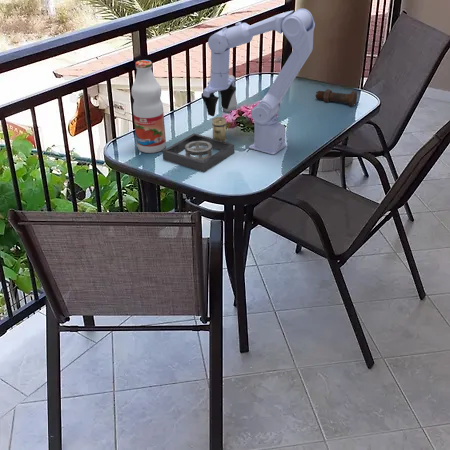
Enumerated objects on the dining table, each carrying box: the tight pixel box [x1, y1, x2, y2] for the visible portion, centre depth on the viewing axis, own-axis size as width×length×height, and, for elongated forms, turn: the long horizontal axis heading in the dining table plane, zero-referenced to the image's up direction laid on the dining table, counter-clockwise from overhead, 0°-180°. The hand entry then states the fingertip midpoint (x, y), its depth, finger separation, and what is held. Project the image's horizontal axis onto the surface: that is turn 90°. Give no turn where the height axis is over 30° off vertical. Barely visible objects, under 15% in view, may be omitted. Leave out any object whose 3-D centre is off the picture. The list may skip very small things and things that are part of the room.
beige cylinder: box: [211, 116, 227, 142], centre depth 194 cm, size 5×5×7 cm
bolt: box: [315, 89, 358, 107], centre depth 221 cm, size 6×5×15 cm
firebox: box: [161, 133, 235, 173], centre depth 185 cm, size 16×16×3 cm
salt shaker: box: [222, 74, 238, 113], centre depth 214 cm, size 6×6×13 cm
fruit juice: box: [131, 59, 167, 154], centre depth 184 cm, size 9×9×28 cm
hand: (218, 111), depth 191 cm, fingers open, 7 cm apart
